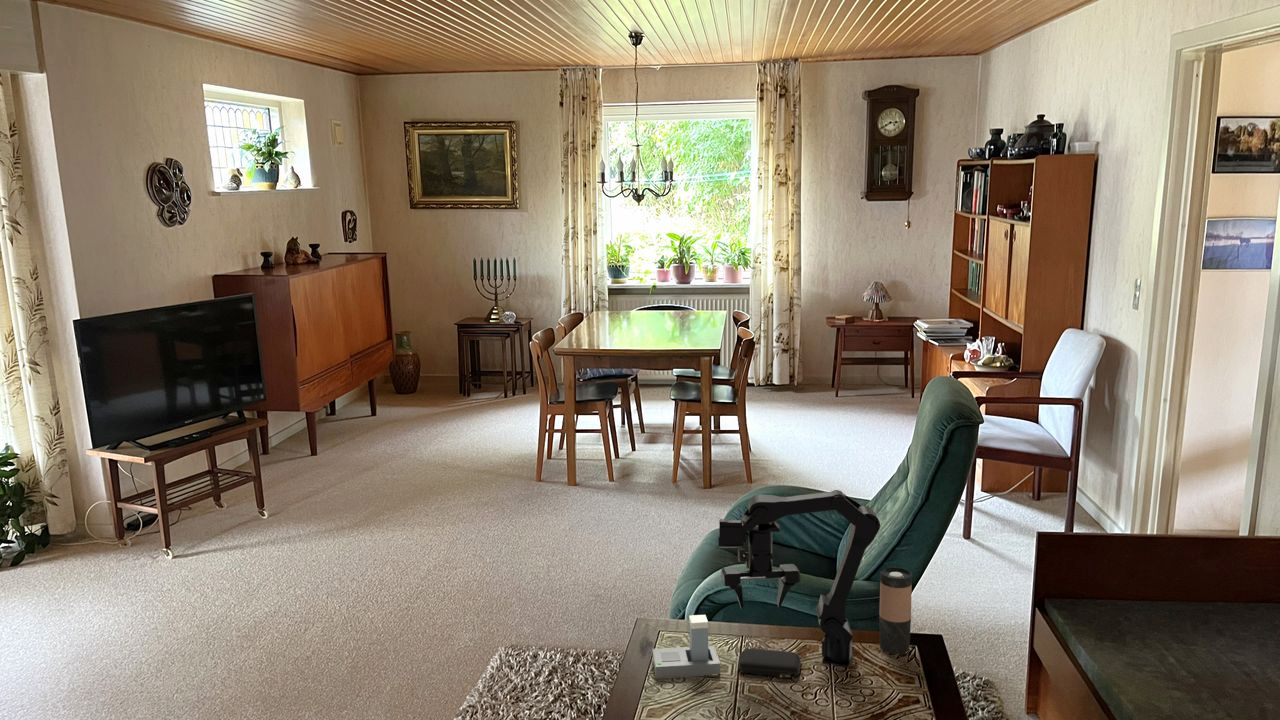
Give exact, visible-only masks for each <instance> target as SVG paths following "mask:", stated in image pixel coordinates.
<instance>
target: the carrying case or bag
mask: <svg viewBox="0 0 1280 720" xmlns="http://www.w3.org/2000/svg"><path fill="white" fill-rule="evenodd" d="M801 659H802V658H801V657H800V656H799V655H798V653H796V652H794V651H783V650H773V649H762V648H761V649H759V648H745V649H743V650H742V651H741V652H740V654H739V659H738V663H737V667H738V670H739V671H740V672H741V671H742V672H744V673H743V674H745V673H751V674H750V675H754V674H761V675H760V676H764V675H772V676H771V677H775V676H779V677H778V678H780V679H785V678H787V677H794V678H796V677H797V676H798V675H799V674H800V670H801V661H802V660H801ZM742 672H741V673H742Z"/></svg>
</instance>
